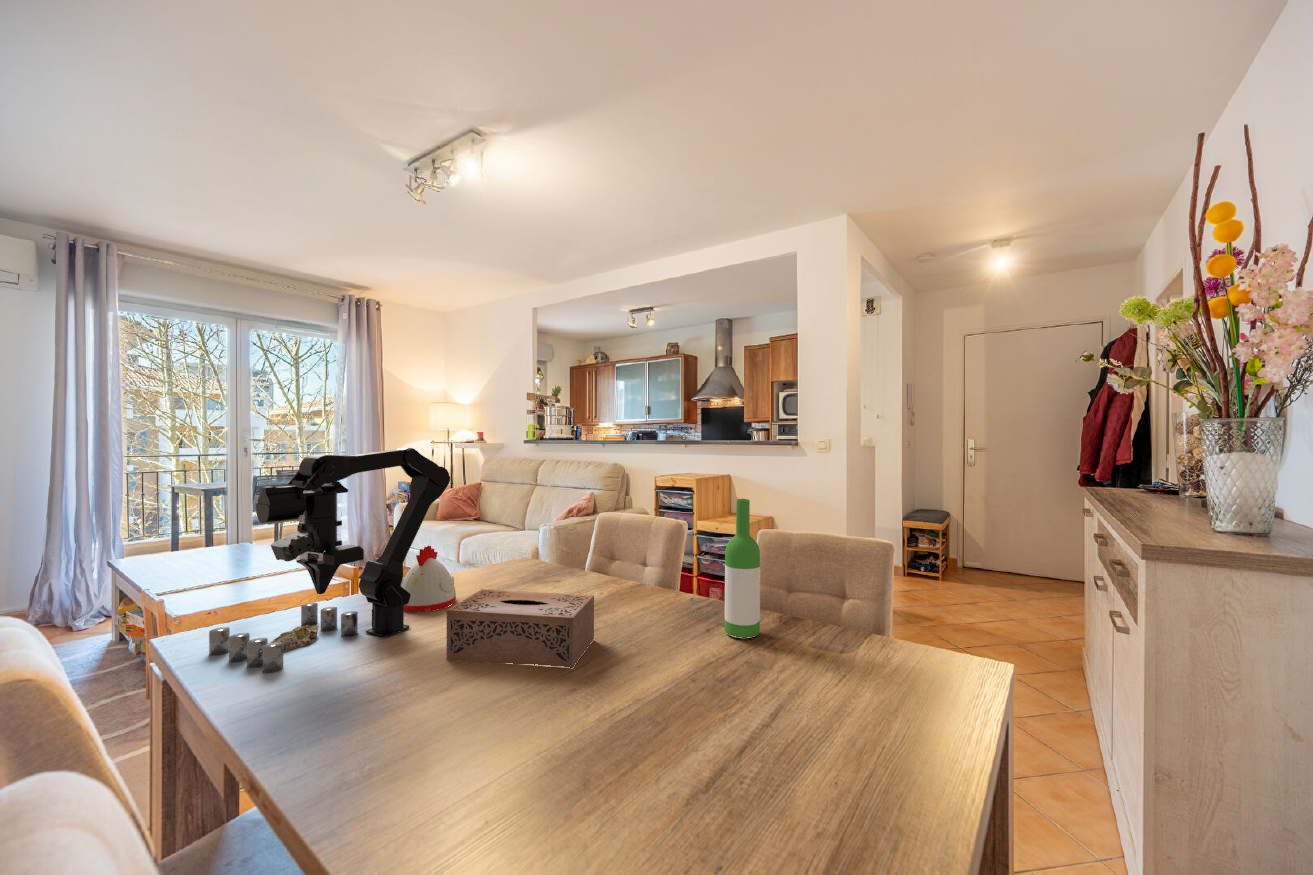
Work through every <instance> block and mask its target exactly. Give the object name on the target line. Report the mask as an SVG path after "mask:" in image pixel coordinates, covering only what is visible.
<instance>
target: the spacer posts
mask: <svg viewBox="0 0 1313 875" xmlns="http://www.w3.org/2000/svg"><path fill="white" fill-rule="evenodd" d="M318 609H319V608H318V603H317V602H307V603H303V604H301V606H300V624H301V625H300V627H302V626H305V625H309V626H316V625H318V620H319V619H318V618H319V617H318V615H319V614H318V613H319V612H318ZM358 614H359V613H358V611H356V610H355V611H354V610H350V611H345V612H342V613H341V614H340V636H341V637H343V638H345V637H346V638H347V637H352V636H353V637H354V636H356V635H358V634H359V633H358V630H359V629H358V625H359V624H358V621H359V620H358V619H359V618H358V617H359V616H358ZM337 628H338V607H336V606H327V607H326V606H325V607H323V608H321V609H320V632H331V631H334V630H336V629H337ZM268 640H269V639H268V637H256V638H253V639H250V633H249V632H239V633H235V634H230V627H229V626H222V627H216V628H213V629H210V630H209V632H208V642H209V643H208V647H209V648H208V654H209V656H220V655H223V654H226V653H227V654H228V661H229V663H230V662H231V663H236V661H238V662H243V661H245V660H244V659H246V667H247V668H249V669H254V668H259V667H261V668H262V673H263V674H271V673H276V672H279V671H282V669H284V652H283V643H282V642H274V643H271V642H268ZM268 643H269V644H268ZM242 660H243V661H242Z"/></svg>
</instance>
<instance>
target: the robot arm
mask: <svg viewBox="0 0 1313 875" xmlns="http://www.w3.org/2000/svg"><path fill="white" fill-rule="evenodd" d="M298 467H299V468H298V470H297V472H295V474H294V475H293V476H292V477H291V479H290V481H289V482H288V483H287V484H286V486H285V485H283V486H262V487H261V490H260V492H261V493H260V494H259V496H258V498H257V503H255V514H256V516H257V519H258V521H259V523H261V524H270V523H278V522H288V521H295V520H298V519H299V518H300V517H301V516H303V522H298V525H297V529H296V531H295V532H293V533H290V534H287V535H286V536H284V537H281V538H280V539H278V540H276V541H274V542H273V543H271V544H270V547H271V550H272V552H273V554H274V557H275V559H276V560H277V561H284V562H291V561H294V560H295V563H297V564H299V565H301V566H302V567H304V568H305V569H306V570H307V572H308V575H309V576H310V579H311V581H312V584H313V587H314V589H315V592H316V595H323V594H325V593H326V591H327V589H328V587H329V586H330V583H331V582H332V580H333V577H334V576H335V574H336V572H337V571H338V569H339V567H340V566H341V565H346V564H350V563H353V562H354V563H356V562H359V561H364V558H365V549H364V548H363V547H362V546H360V545H355V544H344V545H343V540H341V539H338V527H340V526H343V521H342V519H341V520H340V519H338V494H345V493H346V494H347V493H348V492H349V489H348V488H347V487H345V486H344V485H343V484H342V483H341V481H342V480H345V479H347V478H349V477H350V476H352V475H355V474H359V473H364V472H365V473H366V472H370V471H378V470H384V469H388V468H395V467H401V469H402V470H403V472H404V473H405V474H406V475H407V476H408V477H409V478H410V479H411V481H410V484H409V498H408V501H407V503H406V505H405V507H404V509H403V511H402V513H401V516H400V517H399V519H398V521H397V524H396V525H395V527H394V529H393V532H392V534H391V536H390V537H389V539H388V541H387V543H386V546H385V547H384V550H383V552H382V553H381V554H380V557H378V558H377V559H376V560H375V561H372V560H367V562H366V563H365V564H364V565H365V566H364V569H363V571H362V573H361V574H360V575H359V576H358V579H360V580H359V583H358V588H359V591H360V593H361V594H362V595H363V596H364V597H365V598H366V601H367V603H370V604H372V609H371V628H368V629H365V633H366V634H370V635H374V636H378V637H383V638H387V637H390V636H392V635H394V634H397V633H400V632H402V631H405V630H408V629H410V625H408V624H404V623H405V621H404V618H405V617H404V616H405V614H404V613H405V611H404V605H406V604H408V603H409V600H410V596H411V594H410V593H409V592H407V591H406V590H405V589H404V588H402V587H401V582H402V579H403V577H404V561H405V559H406V557H407V556H408V553H409V551H410V549H411V546H412V545H413V543H414V541H415V538H416V537H417V535H418V532H419V531H420V529H421V526H422V524H423V521H424V520H425V517H426V515H427V513H428V511H429V509H430V507H431V506H432V504H433V503H434V502H435V501H437V500H438V499H439V498H440V497H441V496H442V495H443V494H444V492H445V491H446V489H447V487H448V486H449V484H450V482H451V476H450V473H449V471H448V469H447V468H446V467H443V466H440V465H438V464H437V463H436V462H434V461H433V460H431V459H429V458H427V457H426V456H424V455H423V454H421V453H420V452H419V451H418V450H416V449H415V448H413V447H399V448H397V449H396V448H395V449H389V450H382V451H372V452H367V453H365V452H364V453H359V454H351V455H339V454H337V455H336V454H335V455H334V454H333V455H332V454H316V453H315V454H314V453H313V454H310V455H307V456H305V457H304V458H303V459H302V460H301V461H300V464H299V466H298ZM326 484H329V485H326ZM298 557H299V559H297V558H298Z"/></svg>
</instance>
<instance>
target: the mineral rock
mask: <svg viewBox="0 0 1313 875" xmlns="http://www.w3.org/2000/svg"><path fill="white" fill-rule="evenodd" d="M318 632H319V630H318V627H317V626H316V625H313V626H309V625H305V626H301V625H300V626H296V627H294V628H293V629H291V630H289V631H284V632H282V633H280V634H279V636H277V637H276V638H274V639H272V641H270V642H268V644H269V643H274V642H282V643H283V653H284V652H288V651H292V650H294V649H296V648H300V647H302V648H303V647H306V646H309V645H311V644H312V643H315V642H316V641H317V639H318Z"/></svg>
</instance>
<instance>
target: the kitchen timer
mask: <svg viewBox="0 0 1313 875" xmlns="http://www.w3.org/2000/svg"><path fill="white" fill-rule="evenodd" d="M437 557H438V551H435V548H432V546H431V545H427V546H424V547H423V548H420V549H419V554H417V555H416V557H415V558H416V560H417V562H416V563H414V565H412V566H411V568H409V570H408V572H407V574H406V575H405V576H403V579H402V582H401V587H402V588H404V589H405V590H406V591H407V592H409V593H410V594H411V596H410V600H409V603H408V604H406V605H404V612H407V613H427V612H434V611H433V610H435V611H438V610H437V609H440V610H442V609H441V608H443V609H446V608H445V607H447V608H448V606H449V605H451V604H453V603H454V602H455V603H456V601H457V597H456V595H457V594H456V588H455V579H454V578H455V577H454V576H451V573H450V572H449V571H448V569H447V567H446V566H444V564H443V563H441V562H440V561H438V560H437ZM455 600H456V601H455ZM455 603H454V604H455ZM454 604H453V605H454ZM451 606H452V605H451ZM449 607H450V606H449Z"/></svg>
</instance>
